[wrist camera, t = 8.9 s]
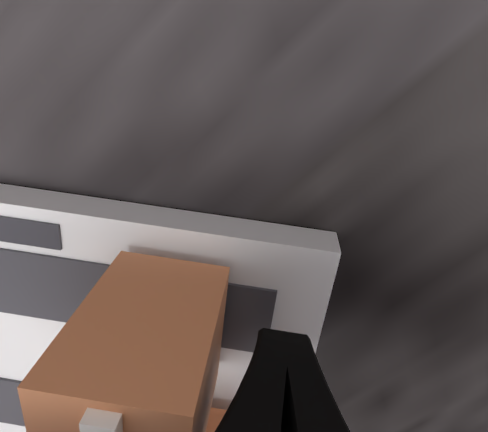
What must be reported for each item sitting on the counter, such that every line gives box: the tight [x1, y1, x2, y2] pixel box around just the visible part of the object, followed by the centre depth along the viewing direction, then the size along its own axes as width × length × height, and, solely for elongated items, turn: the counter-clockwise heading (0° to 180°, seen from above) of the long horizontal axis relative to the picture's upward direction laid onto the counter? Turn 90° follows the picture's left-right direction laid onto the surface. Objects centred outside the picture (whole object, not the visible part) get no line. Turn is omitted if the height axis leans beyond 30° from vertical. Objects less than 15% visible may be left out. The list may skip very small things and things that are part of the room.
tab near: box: [17, 251, 230, 432], centre depth 9 cm, size 3×4×5 cm
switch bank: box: [0, 183, 341, 432], centre depth 13 cm, size 13×11×1 cm
